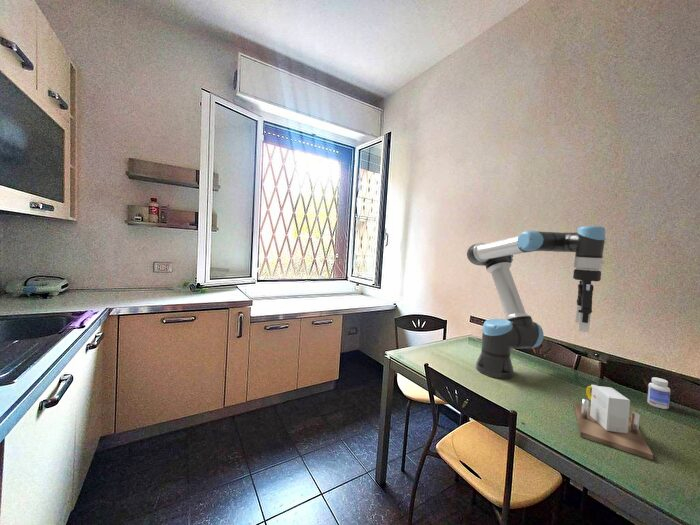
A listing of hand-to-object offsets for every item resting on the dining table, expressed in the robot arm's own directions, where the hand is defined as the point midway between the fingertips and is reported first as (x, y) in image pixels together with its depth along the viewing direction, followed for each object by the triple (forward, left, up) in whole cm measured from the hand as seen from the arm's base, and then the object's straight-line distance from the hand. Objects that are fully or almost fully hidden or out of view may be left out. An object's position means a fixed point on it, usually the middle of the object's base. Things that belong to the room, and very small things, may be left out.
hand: (581, 326), depth 100 cm
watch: (+6, +5, -29) cm, 29 cm away
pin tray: (+7, -14, -28) cm, 32 cm away
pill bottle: (+25, +17, -29) cm, 41 cm away
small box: (+7, -14, -27) cm, 31 cm away
